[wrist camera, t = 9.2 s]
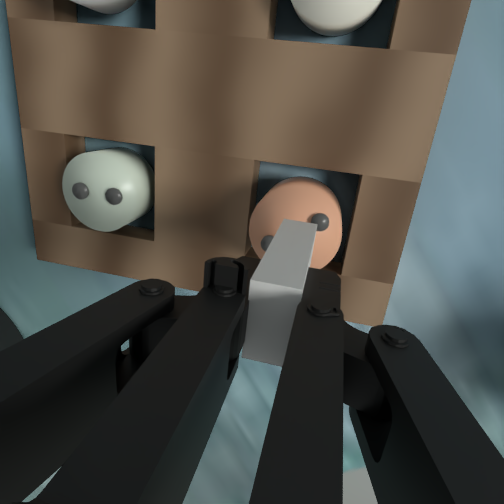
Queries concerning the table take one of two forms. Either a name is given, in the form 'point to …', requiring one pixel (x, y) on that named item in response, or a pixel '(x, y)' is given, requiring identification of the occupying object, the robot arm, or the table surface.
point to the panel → (230, 129)
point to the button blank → (106, 5)
